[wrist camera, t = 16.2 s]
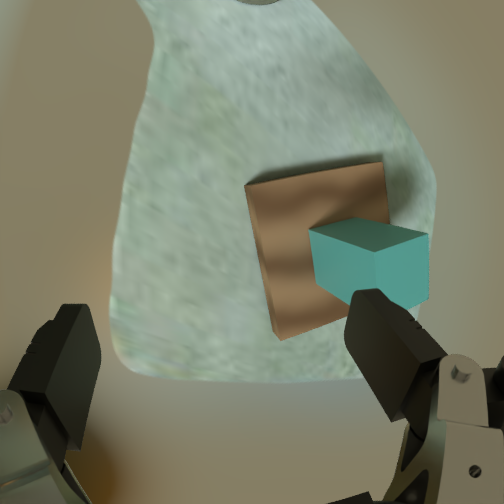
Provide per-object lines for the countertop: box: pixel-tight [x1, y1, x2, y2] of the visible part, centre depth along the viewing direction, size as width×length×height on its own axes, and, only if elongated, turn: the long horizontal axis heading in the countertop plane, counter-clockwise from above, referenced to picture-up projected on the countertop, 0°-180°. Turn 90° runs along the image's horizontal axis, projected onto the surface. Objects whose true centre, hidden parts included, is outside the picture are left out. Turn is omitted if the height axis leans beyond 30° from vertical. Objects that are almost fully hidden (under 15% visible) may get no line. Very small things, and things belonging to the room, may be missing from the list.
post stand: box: [244, 162, 390, 341], centre depth 31 cm, size 17×16×12 cm
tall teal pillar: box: [308, 217, 429, 310], centre depth 29 cm, size 6×6×11 cm
